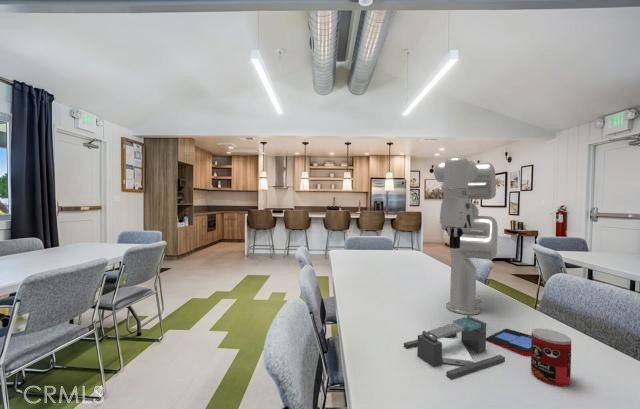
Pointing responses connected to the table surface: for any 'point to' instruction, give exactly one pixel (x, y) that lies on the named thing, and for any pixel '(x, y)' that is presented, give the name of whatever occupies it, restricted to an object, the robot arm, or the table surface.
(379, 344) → the table surface
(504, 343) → the game console
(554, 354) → the canned food
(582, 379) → the table surface
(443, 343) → the external hard drive
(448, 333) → the rectangular panel
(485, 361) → the socket frame
